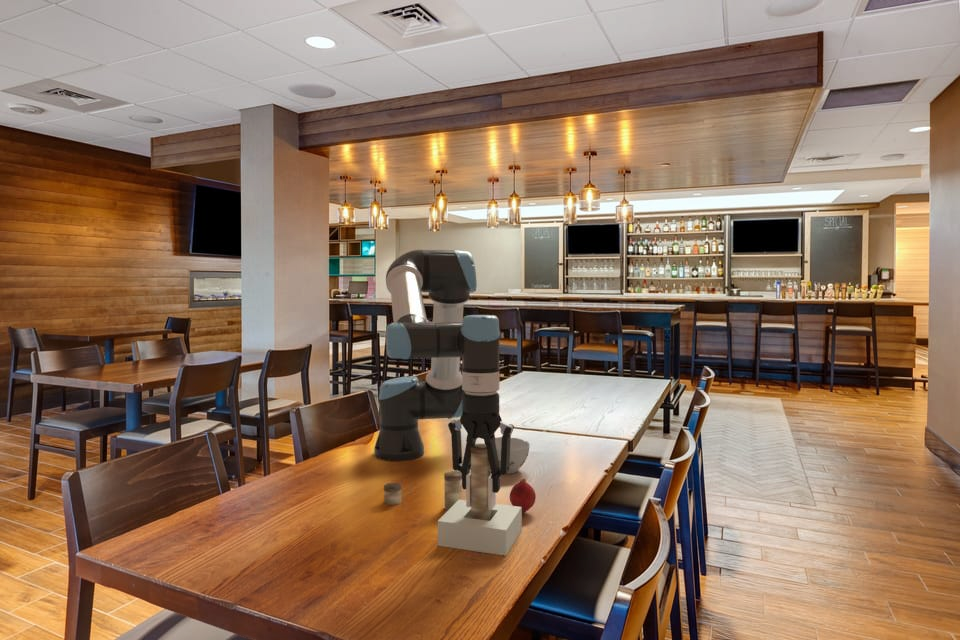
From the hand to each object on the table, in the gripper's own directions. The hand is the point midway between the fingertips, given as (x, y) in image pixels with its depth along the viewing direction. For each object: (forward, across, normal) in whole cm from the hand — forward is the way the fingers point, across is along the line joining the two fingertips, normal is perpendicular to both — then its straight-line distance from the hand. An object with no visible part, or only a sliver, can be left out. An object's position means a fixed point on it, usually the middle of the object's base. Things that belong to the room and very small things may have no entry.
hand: (480, 505), depth 115 cm
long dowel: (+4, 0, 0) cm, 4 cm away
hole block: (+7, 0, 0) cm, 7 cm away
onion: (+7, +5, +15) cm, 17 cm away
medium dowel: (+7, -11, +13) cm, 18 cm away
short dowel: (+7, -26, +12) cm, 29 cm away
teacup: (+7, -6, +44) cm, 45 cm away
